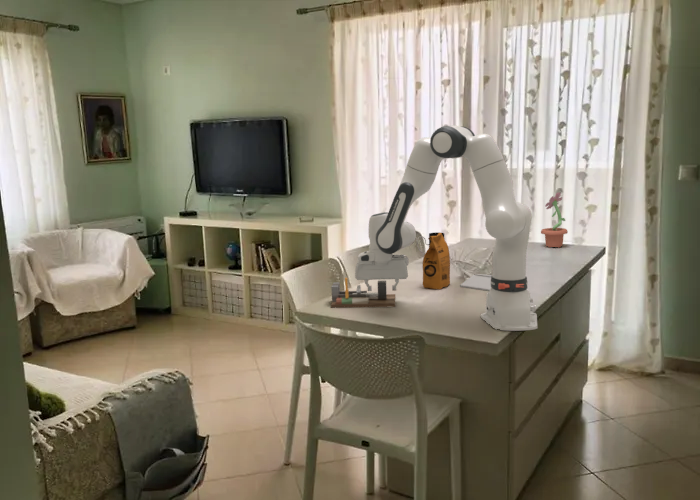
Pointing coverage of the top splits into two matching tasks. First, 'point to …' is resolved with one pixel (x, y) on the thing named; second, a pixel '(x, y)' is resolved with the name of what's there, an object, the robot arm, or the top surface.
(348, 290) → the orange angled bar
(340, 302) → the gauge base
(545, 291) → the top surface
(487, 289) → the gadget
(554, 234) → the decorative flower
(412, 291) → the top surface
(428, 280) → the coffee package
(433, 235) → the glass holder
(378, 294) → the grey notched block
